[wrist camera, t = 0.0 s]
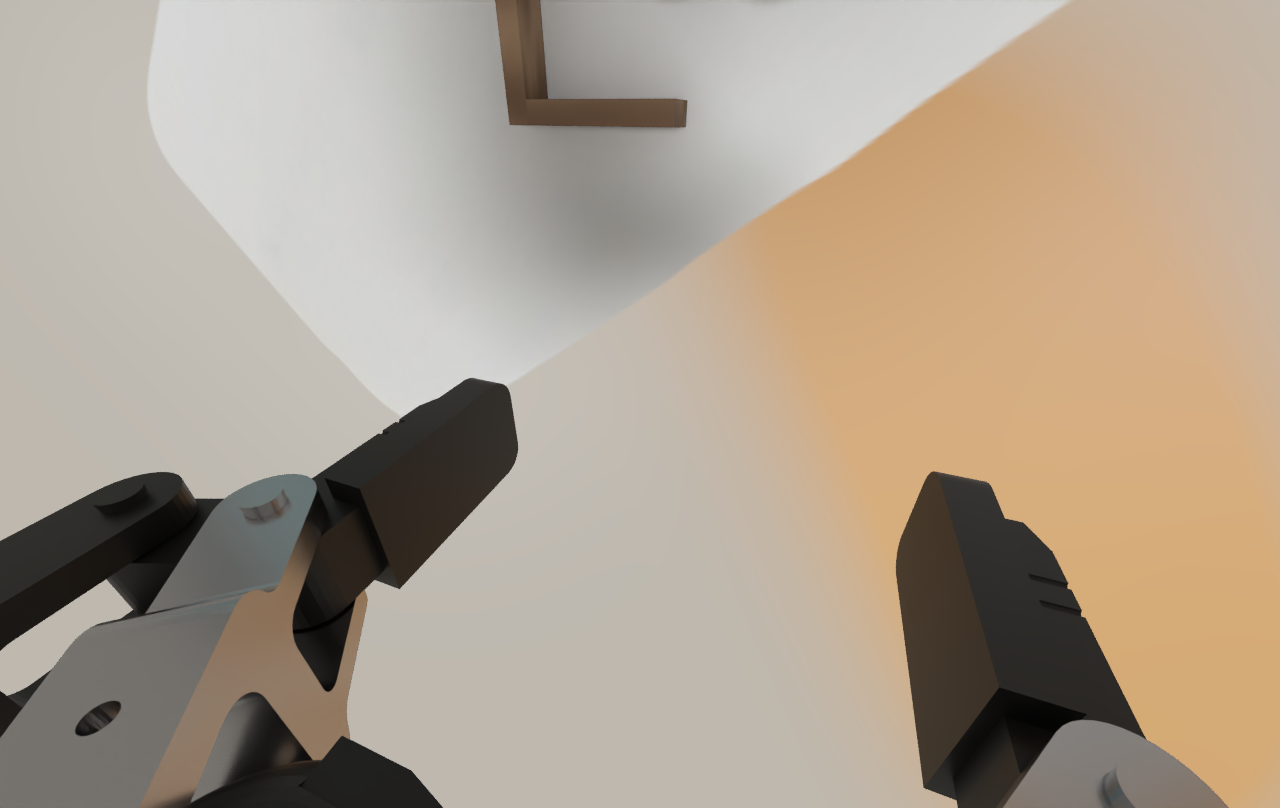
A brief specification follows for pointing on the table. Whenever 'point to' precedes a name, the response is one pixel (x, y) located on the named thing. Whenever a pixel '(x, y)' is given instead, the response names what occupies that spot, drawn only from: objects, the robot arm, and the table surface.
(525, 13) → the bracket
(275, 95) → the table surface
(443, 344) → the table surface
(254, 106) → the table surface
